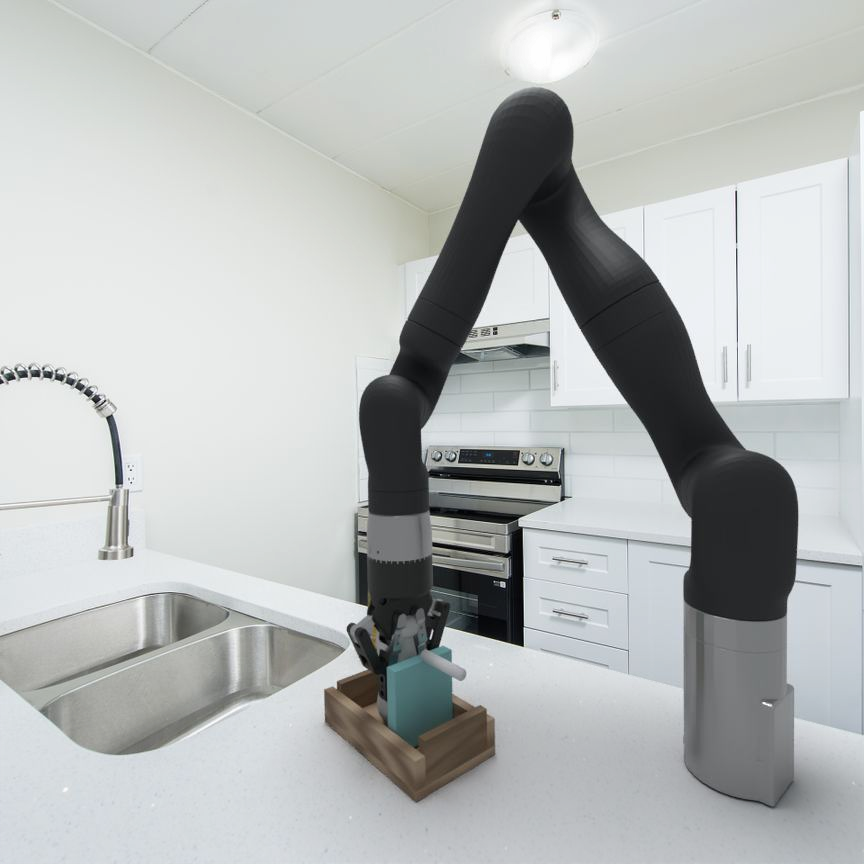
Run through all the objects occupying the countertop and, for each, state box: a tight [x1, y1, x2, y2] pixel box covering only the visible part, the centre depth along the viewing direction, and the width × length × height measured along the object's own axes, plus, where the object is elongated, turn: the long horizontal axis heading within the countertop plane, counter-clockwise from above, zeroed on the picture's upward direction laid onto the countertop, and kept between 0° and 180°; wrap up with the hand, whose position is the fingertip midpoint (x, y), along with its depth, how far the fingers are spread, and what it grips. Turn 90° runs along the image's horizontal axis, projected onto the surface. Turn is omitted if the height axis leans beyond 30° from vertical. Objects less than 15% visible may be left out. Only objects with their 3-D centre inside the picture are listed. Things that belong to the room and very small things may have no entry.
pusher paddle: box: [387, 645, 467, 747], centre depth 57 cm, size 8×8×10 cm
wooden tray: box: [323, 669, 496, 803], centre depth 61 cm, size 18×11×6 cm, turn 40°
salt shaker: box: [377, 615, 418, 728], centre depth 62 cm, size 6×6×13 cm
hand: (402, 696), depth 62 cm, fingers closed on salt shaker, 3 cm apart
